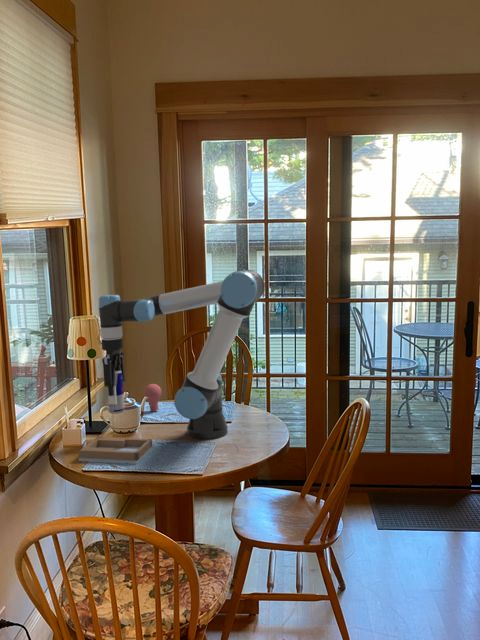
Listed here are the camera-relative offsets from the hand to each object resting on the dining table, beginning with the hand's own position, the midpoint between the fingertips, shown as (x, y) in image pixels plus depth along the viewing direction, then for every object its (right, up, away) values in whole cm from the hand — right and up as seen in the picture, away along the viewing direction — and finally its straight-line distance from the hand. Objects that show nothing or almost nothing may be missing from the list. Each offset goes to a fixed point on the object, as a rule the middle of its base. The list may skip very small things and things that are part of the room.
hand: (116, 401), depth 207 cm
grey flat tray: (+3, -16, -13) cm, 21 cm away
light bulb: (+8, -10, +38) cm, 40 cm away
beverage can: (0, -4, 0) cm, 4 cm away
